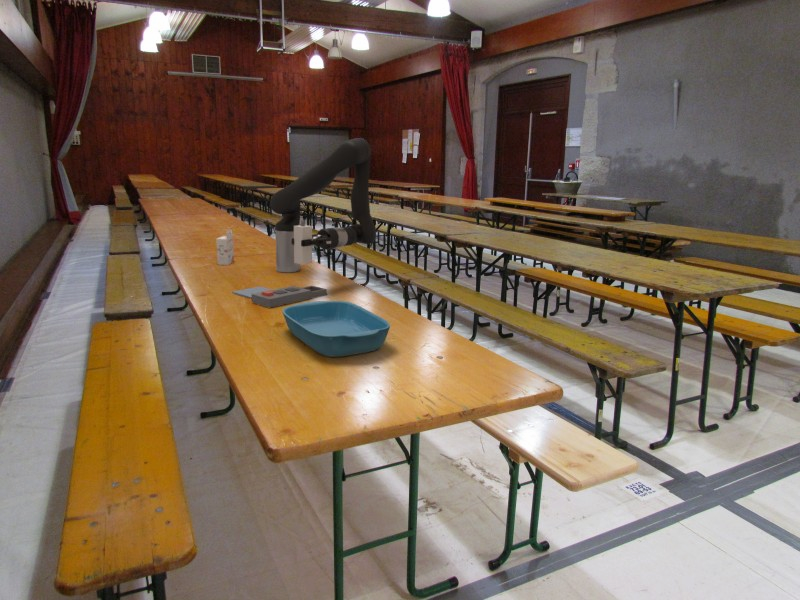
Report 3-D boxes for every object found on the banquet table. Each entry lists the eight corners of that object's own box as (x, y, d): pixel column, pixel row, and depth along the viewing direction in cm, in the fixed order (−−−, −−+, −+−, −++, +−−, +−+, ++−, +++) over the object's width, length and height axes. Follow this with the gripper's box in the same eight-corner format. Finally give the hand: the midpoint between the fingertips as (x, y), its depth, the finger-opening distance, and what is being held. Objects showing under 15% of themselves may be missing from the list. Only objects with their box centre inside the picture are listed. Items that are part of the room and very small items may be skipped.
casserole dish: (272, 327, 164) (272, 303, 162) (342, 318, 175) (342, 295, 174) (323, 369, 134) (323, 340, 132) (403, 355, 145) (404, 328, 143)
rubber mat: (260, 288, 209) (259, 286, 209) (281, 293, 202) (280, 292, 202) (232, 293, 200) (232, 291, 200) (253, 299, 193) (253, 297, 192)
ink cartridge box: (223, 261, 256) (221, 229, 252) (234, 261, 256) (233, 229, 252) (217, 265, 248) (215, 231, 244) (228, 265, 248) (226, 232, 244)
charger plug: (303, 261, 202) (303, 219, 198) (312, 263, 200) (311, 220, 196) (294, 262, 199) (293, 220, 195) (302, 264, 196) (302, 221, 192)
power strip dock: (310, 290, 208) (310, 279, 207) (328, 294, 202) (328, 284, 201) (251, 302, 188) (251, 291, 187) (269, 308, 183) (269, 296, 182)
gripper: (319, 225, 212) (283, 229, 199) (346, 230, 203) (310, 234, 190) (319, 245, 213) (283, 250, 200) (346, 250, 205) (311, 256, 192)
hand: (297, 242), depth 195 cm, fingers closed on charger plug, 4 cm apart
